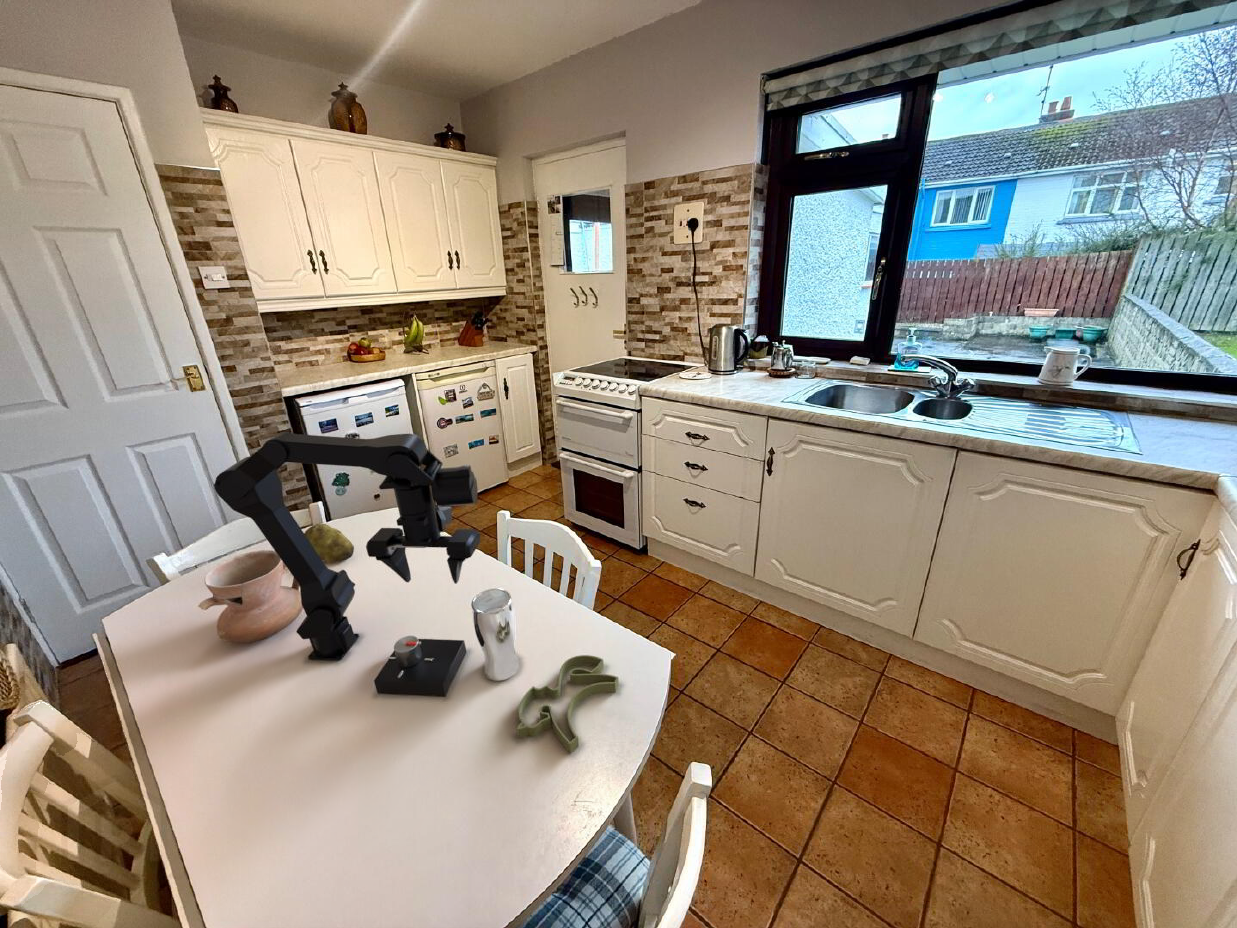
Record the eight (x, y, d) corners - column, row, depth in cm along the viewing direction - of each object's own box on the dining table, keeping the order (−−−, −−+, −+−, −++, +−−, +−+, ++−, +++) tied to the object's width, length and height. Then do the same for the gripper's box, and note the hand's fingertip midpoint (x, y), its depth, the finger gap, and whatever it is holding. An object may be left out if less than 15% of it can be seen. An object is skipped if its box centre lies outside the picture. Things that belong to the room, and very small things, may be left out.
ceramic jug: (239, 665, 89) (211, 603, 84) (201, 639, 96) (173, 580, 90) (332, 607, 103) (314, 551, 98) (294, 588, 110) (275, 534, 104)
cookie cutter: (565, 765, 70) (564, 755, 69) (503, 728, 76) (502, 719, 75) (626, 678, 84) (626, 669, 83) (570, 653, 90) (570, 644, 89)
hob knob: (393, 667, 84) (388, 650, 82) (404, 650, 88) (400, 633, 86) (415, 668, 84) (411, 651, 82) (425, 650, 87) (421, 634, 86)
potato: (323, 573, 115) (314, 545, 112) (304, 554, 123) (295, 527, 120) (359, 558, 121) (351, 530, 117) (339, 540, 129) (331, 514, 125)
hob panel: (376, 694, 82) (372, 680, 81) (404, 650, 92) (401, 637, 90) (445, 696, 82) (442, 683, 80) (466, 652, 91) (464, 639, 89)
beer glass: (481, 686, 83) (468, 617, 77) (483, 656, 90) (471, 590, 84) (522, 678, 85) (512, 610, 79) (521, 650, 91) (512, 584, 85)
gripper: (484, 487, 90) (495, 557, 96) (388, 486, 92) (405, 555, 98) (462, 516, 80) (475, 593, 86) (354, 515, 81) (375, 590, 88)
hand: (432, 581), depth 90 cm, fingers open, 9 cm apart
